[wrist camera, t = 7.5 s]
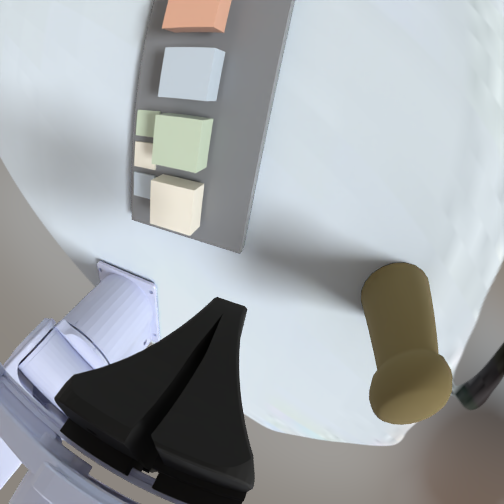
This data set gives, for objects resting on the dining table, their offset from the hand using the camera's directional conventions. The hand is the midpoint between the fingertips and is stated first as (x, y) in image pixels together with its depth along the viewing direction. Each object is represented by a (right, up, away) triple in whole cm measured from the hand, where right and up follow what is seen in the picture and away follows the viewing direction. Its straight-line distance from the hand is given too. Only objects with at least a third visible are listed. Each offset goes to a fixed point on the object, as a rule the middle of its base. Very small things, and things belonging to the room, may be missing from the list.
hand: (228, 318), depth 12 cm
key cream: (-4, +7, +8) cm, 11 cm away
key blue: (-3, +14, +3) cm, 15 cm away
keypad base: (-3, +13, +6) cm, 14 cm away
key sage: (-3, +10, +6) cm, 12 cm away
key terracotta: (-2, +18, 0) cm, 18 cm away
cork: (+13, -1, +9) cm, 16 cm away
